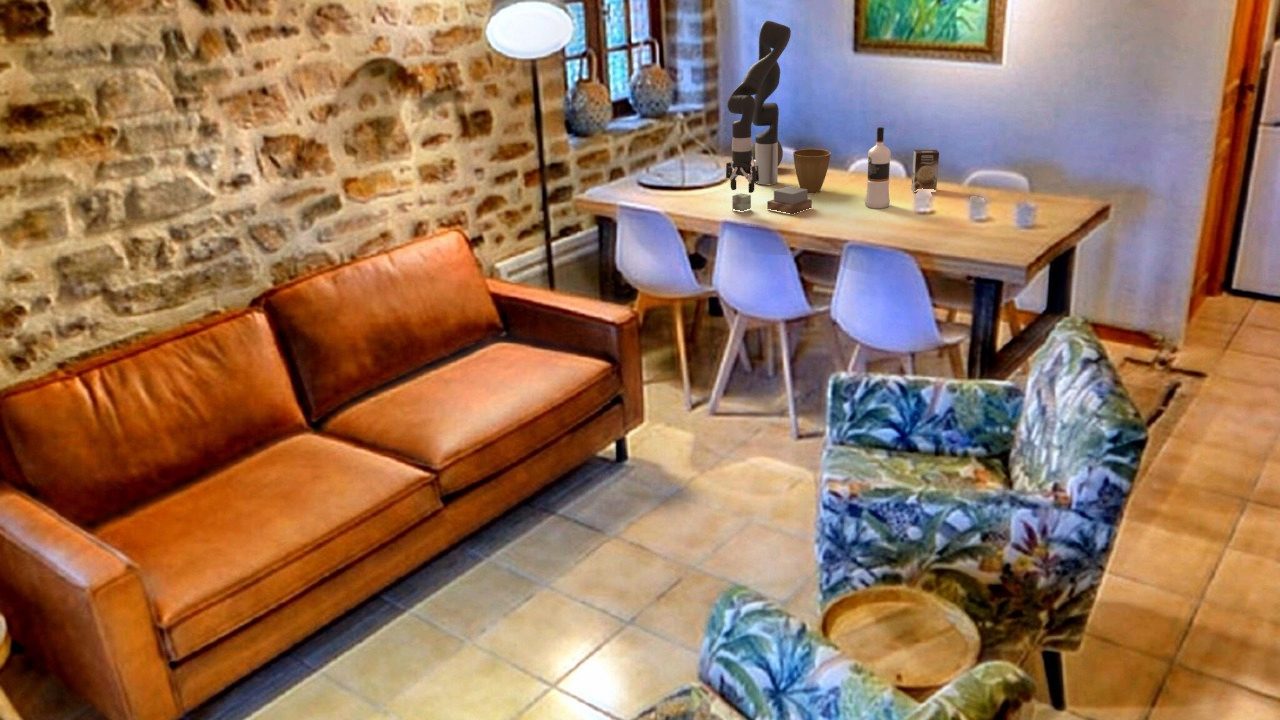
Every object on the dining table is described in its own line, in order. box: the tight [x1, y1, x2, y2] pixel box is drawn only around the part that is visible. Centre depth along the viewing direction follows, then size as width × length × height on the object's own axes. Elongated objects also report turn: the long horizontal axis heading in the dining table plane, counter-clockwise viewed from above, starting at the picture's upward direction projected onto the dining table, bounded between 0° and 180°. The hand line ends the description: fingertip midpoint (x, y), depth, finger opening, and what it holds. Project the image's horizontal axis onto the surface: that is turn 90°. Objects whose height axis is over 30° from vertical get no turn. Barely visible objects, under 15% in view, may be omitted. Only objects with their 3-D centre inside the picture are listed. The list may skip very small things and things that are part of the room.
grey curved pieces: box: [752, 140, 784, 167], centre depth 469 cm, size 14×14×15 cm
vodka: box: [864, 126, 892, 210], centre depth 403 cm, size 9×9×30 cm
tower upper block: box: [773, 185, 808, 205], centre depth 407 cm, size 9×9×4 cm
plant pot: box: [792, 148, 832, 194], centre depth 430 cm, size 15×15×16 cm
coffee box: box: [910, 149, 940, 193], centre depth 423 cm, size 9×6×16 cm
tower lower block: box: [766, 198, 813, 214], centre depth 409 cm, size 12×12×4 cm
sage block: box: [731, 192, 752, 211], centre depth 410 cm, size 5×5×6 cm
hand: (742, 191), depth 408 cm, fingers open, 8 cm apart
